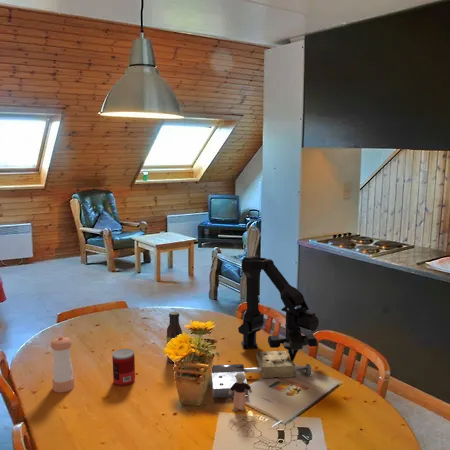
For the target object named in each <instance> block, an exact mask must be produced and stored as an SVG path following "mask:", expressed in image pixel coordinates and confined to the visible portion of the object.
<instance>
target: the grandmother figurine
mask: <svg viewBox="0 0 450 450" xmlns="http://www.w3.org/2000/svg"><path fill="white" fill-rule="evenodd" d="M245 378H246V374H245V375H244V374H243V373H241V372H240V373H237V374H236V380H237V382H236V383H234V385H233V386H232V387H231V388H230V390H229V392H228V394H229V395H230V394H231V393H232V391H233V390H235V393H234V397H233V407H232V408H231V410H232V412H238V411H239V410H240V411H241V412H243V411H246V410H247V408H246V407H245V406H246V396H245V389H247V390H248V394H249V393H250V394H252V393H253V390H252V387H251V385H249V384H248V383H247V384H246V383H244V380H245ZM246 379H247V378H246Z"/></svg>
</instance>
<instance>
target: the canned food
mask: <svg viewBox="0 0 450 450" xmlns="http://www.w3.org/2000/svg"><path fill="white" fill-rule="evenodd" d="M135 363H136V362H135V351H134V350H133V349H132V348H131V349H130V348H120V349H118V350H115V351H113V352H112V372H113V373H112V378H113V383H114V385H116V386H119V387H125V386H129V385H131V384H133V383H134V382H135V378H136V368H135V367H136V366H135V365H136V364H135Z"/></svg>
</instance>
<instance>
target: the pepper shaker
mask: <svg viewBox="0 0 450 450" xmlns="http://www.w3.org/2000/svg"><path fill="white" fill-rule="evenodd" d="M72 344H73V343H72V340H71V339H70V337H66V336H65V337H64V336H62V335H61V336H59V337H57V338H54V339H53V340H52V341H51V343H50V348H51V349H52V350H53V365H52V376H53V378H52V391H54V392H55V393H66V392H70V391H72V390H73V389H74V388H75V377H74V374H73V372H74V371H73V364H72V360H71V350H70V348H71V346H72Z"/></svg>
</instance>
